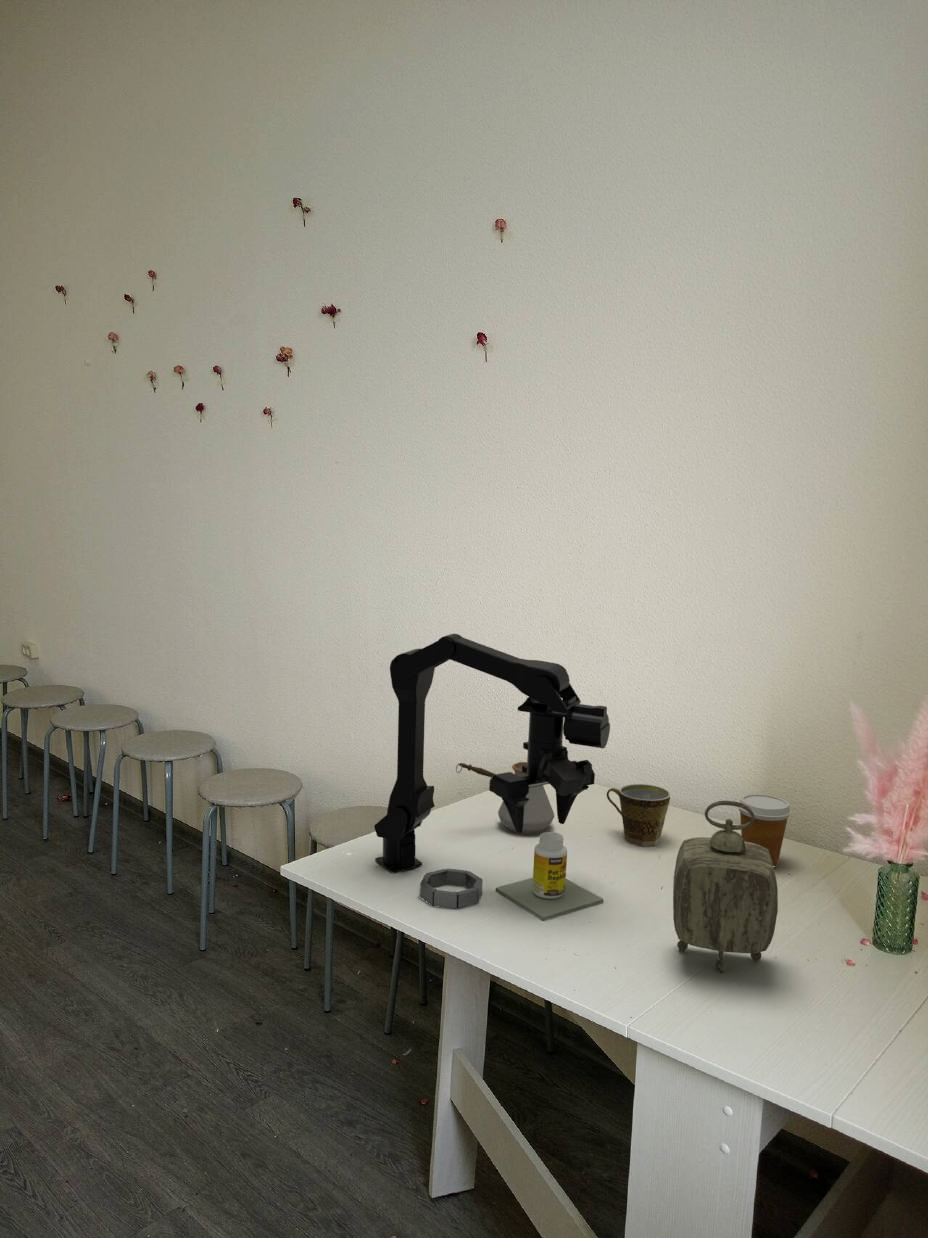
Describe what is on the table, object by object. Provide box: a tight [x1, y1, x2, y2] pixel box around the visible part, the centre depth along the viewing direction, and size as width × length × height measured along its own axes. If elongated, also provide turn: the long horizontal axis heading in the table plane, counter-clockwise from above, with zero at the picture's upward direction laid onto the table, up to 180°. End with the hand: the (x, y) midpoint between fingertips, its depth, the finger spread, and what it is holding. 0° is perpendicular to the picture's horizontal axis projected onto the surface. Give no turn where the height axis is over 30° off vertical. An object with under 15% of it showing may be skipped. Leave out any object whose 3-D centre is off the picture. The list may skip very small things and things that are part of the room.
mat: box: [495, 877, 604, 922], centre depth 160 cm, size 13×13×1 cm
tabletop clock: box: [672, 800, 779, 973], centre depth 137 cm, size 14×9×25 cm, turn 77°
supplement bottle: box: [532, 831, 568, 899], centre depth 159 cm, size 6×6×10 cm
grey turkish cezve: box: [455, 761, 555, 835], centre depth 189 cm, size 21×12×15 cm, turn 113°
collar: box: [419, 868, 483, 910], centre depth 159 cm, size 10×10×2 cm
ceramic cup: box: [606, 783, 671, 847], centre depth 187 cm, size 13×10×10 cm
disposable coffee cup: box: [737, 793, 792, 866], centre depth 177 cm, size 10×10×12 cm
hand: (540, 828), depth 160 cm, fingers open, 9 cm apart
